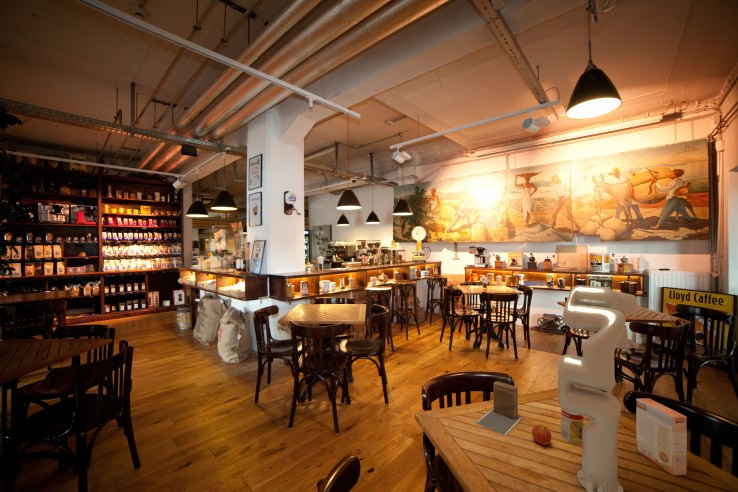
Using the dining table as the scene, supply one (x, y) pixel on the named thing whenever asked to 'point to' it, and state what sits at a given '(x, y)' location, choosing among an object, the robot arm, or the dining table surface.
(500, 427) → the mat
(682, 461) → the cracker box
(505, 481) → the dining table surface
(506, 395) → the plaque
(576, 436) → the canned food
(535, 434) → the fruit
